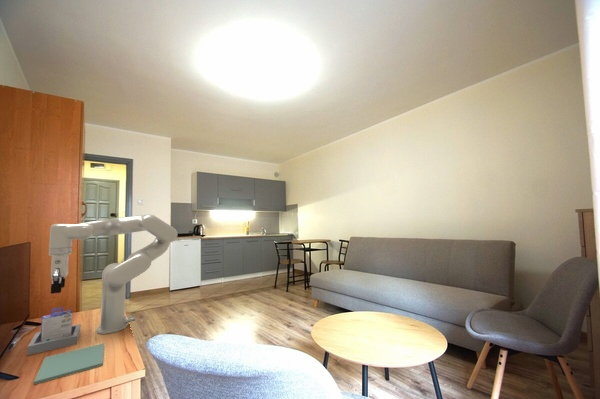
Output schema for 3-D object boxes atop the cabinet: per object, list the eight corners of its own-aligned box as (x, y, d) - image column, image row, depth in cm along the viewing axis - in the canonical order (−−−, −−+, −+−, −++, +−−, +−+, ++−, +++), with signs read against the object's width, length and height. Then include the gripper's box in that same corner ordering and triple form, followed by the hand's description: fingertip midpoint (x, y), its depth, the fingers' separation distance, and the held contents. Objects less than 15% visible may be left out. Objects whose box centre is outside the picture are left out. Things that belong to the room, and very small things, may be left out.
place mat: (103, 345, 109) (103, 343, 109) (102, 365, 95) (102, 362, 95) (45, 359, 99) (45, 357, 99) (33, 384, 84) (33, 381, 84)
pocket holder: (80, 331, 123) (80, 323, 123) (76, 344, 111) (77, 335, 111) (36, 340, 114) (36, 332, 114) (27, 355, 102) (27, 346, 102)
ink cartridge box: (70, 336, 118) (71, 304, 118) (72, 340, 114) (73, 307, 115) (39, 344, 110) (41, 310, 111) (40, 349, 107) (42, 313, 107)
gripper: (68, 253, 110) (66, 293, 108) (73, 248, 123) (71, 284, 122) (44, 254, 105) (41, 296, 104) (52, 249, 119) (49, 287, 118)
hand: (57, 290), depth 113 cm, fingers open, 9 cm apart
